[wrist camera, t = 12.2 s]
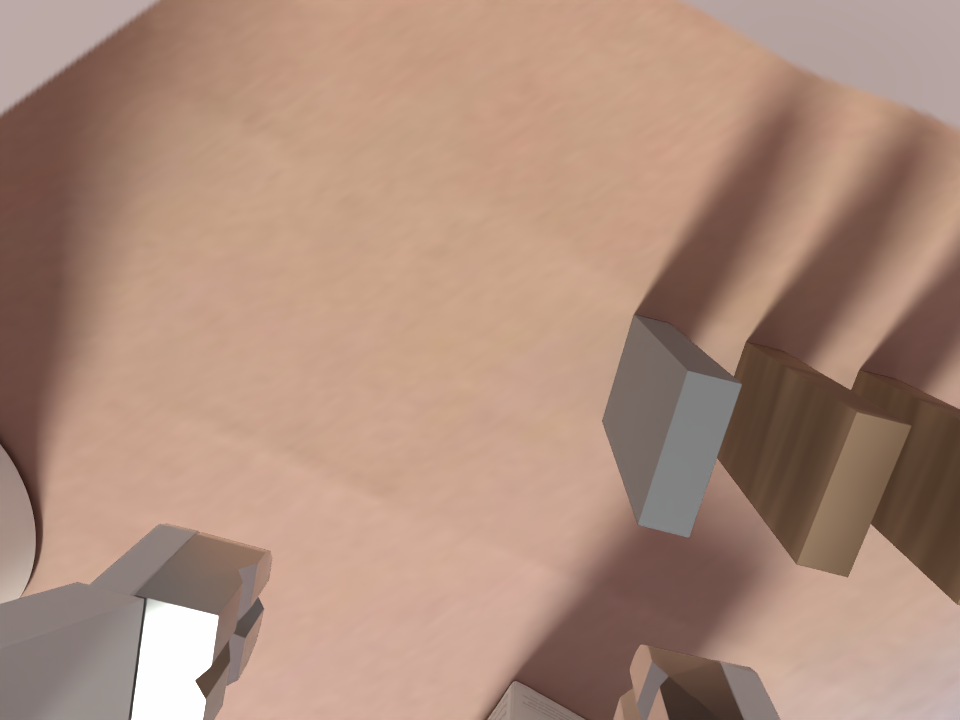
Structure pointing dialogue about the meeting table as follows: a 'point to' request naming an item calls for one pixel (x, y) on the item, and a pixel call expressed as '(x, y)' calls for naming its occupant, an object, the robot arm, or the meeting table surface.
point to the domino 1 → (809, 456)
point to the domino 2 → (921, 480)
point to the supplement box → (529, 706)
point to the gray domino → (667, 423)
